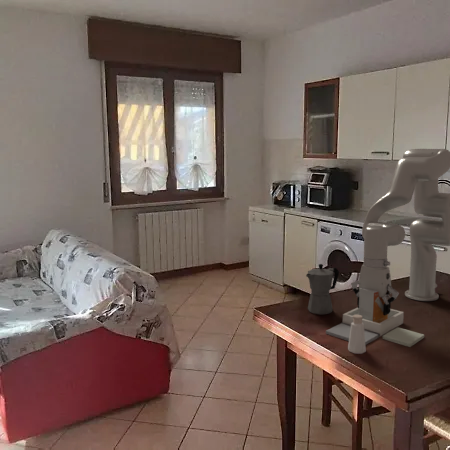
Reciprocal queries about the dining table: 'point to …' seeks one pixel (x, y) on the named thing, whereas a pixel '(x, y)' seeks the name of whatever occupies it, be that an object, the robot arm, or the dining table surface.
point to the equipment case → (367, 325)
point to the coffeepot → (321, 289)
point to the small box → (371, 305)
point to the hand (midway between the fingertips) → (373, 310)
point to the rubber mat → (403, 337)
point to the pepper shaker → (357, 336)
